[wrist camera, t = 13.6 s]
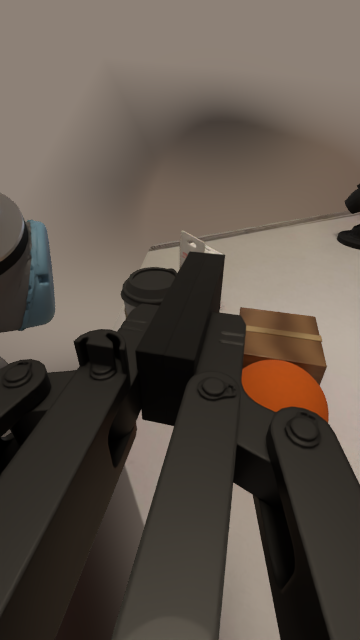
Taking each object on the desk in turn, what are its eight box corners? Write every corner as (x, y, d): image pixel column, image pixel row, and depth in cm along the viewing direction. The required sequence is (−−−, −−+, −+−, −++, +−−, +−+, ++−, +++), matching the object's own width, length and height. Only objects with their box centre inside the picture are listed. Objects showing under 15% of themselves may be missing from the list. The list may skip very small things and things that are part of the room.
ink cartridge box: (221, 309, 61) (227, 238, 52) (200, 316, 59) (204, 243, 50) (197, 291, 67) (200, 225, 58) (178, 297, 65) (178, 229, 56)
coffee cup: (139, 386, 44) (129, 297, 35) (123, 349, 50) (111, 267, 42) (195, 369, 46) (198, 283, 38) (172, 336, 53) (171, 257, 45)
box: (227, 395, 42) (233, 351, 38) (234, 346, 51) (240, 306, 46) (311, 410, 40) (328, 366, 36) (303, 357, 49) (316, 316, 44)
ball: (207, 462, 30) (219, 353, 31) (231, 435, 40) (239, 354, 41) (328, 495, 26) (338, 368, 27) (320, 456, 36) (328, 365, 37)
